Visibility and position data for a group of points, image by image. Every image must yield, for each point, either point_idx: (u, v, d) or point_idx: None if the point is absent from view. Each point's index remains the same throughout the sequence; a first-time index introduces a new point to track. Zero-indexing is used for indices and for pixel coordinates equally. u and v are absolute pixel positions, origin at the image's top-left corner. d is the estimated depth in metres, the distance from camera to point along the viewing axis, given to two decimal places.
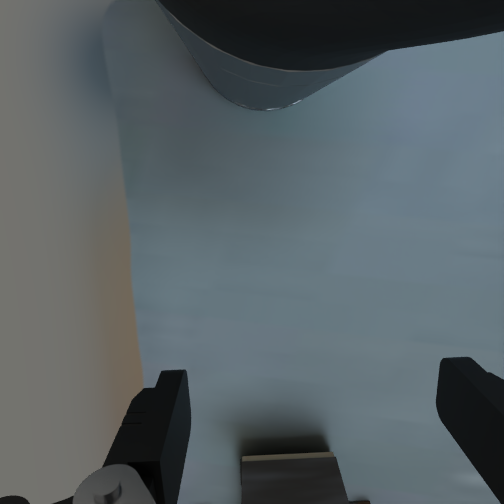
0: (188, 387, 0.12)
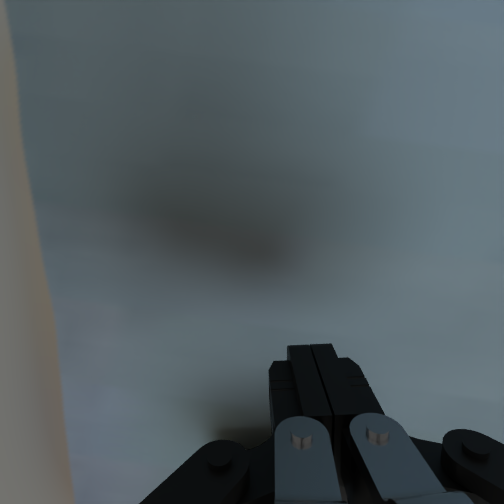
0: None
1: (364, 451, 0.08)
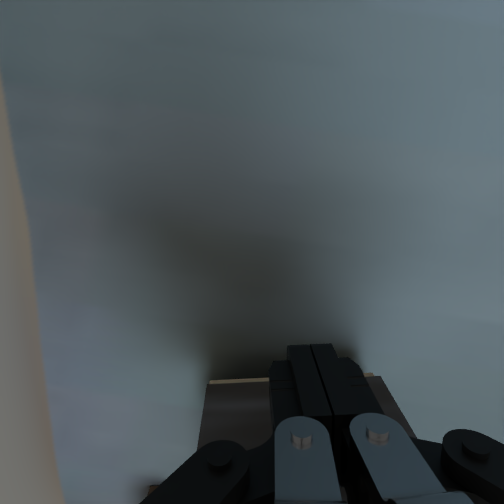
0: None
1: (364, 451, 0.08)
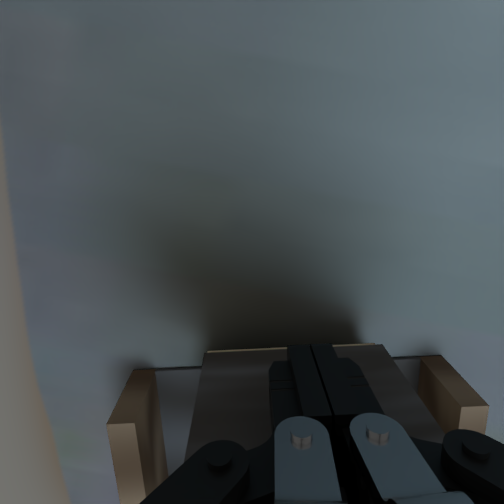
0: None
1: (364, 451, 0.08)
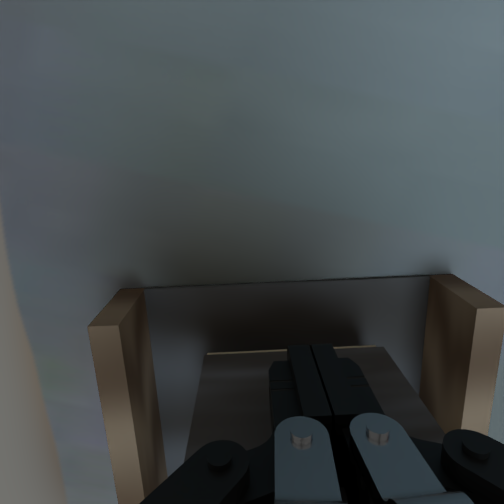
0: None
1: (364, 451, 0.08)
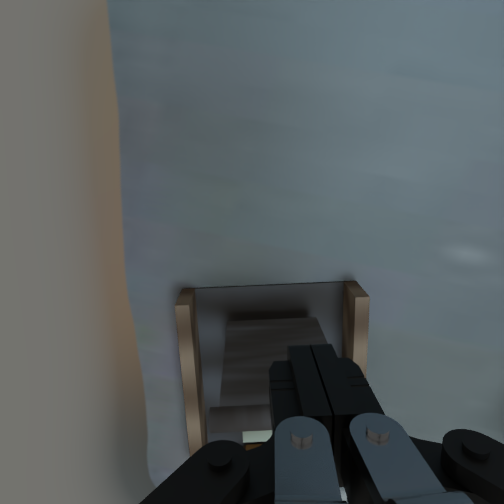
0: None
1: (364, 451, 0.08)
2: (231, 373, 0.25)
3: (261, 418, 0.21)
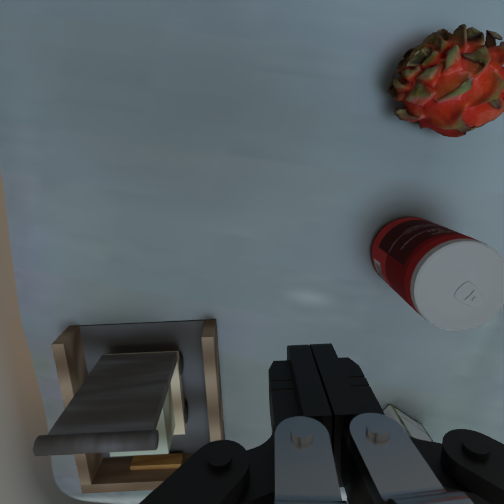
0: None
1: (364, 451, 0.08)
2: (74, 405, 0.32)
3: (73, 444, 0.28)
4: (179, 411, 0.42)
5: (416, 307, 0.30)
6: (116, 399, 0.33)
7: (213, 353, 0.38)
